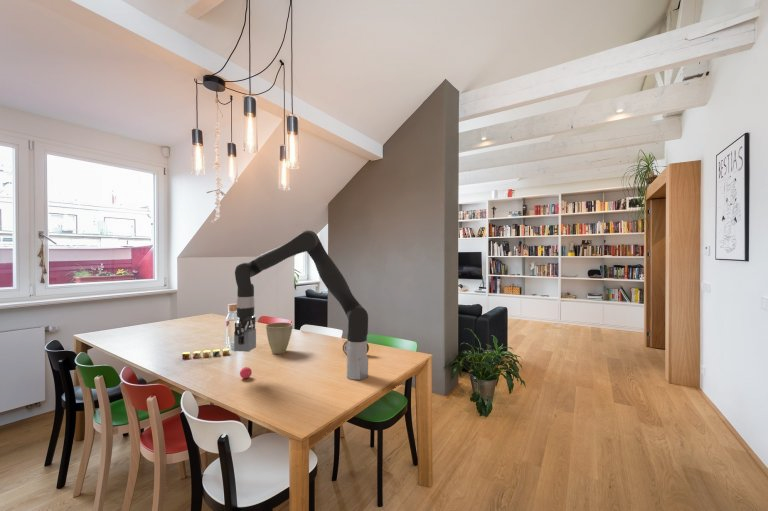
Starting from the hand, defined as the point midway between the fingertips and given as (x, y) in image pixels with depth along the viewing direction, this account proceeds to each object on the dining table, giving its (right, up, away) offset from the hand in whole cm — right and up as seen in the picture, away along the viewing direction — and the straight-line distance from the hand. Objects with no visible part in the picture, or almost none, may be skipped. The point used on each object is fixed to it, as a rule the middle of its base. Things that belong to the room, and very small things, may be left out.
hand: (245, 342), depth 153 cm
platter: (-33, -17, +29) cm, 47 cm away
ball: (0, -14, 0) cm, 14 cm away
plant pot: (+3, -17, +40) cm, 44 cm away
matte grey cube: (0, -3, 0) cm, 3 cm away
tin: (+48, -17, +37) cm, 63 cm away
